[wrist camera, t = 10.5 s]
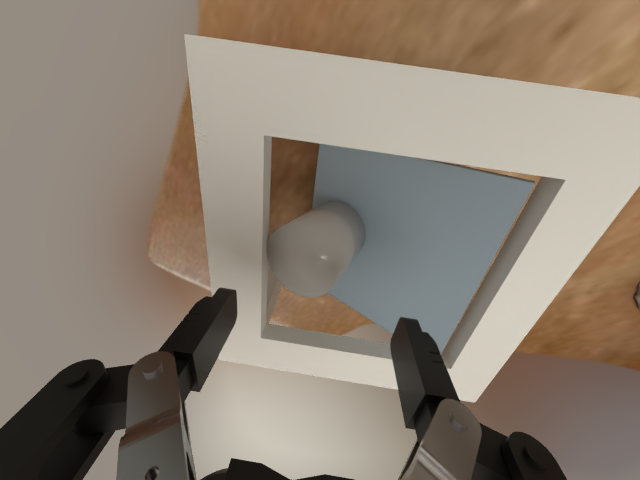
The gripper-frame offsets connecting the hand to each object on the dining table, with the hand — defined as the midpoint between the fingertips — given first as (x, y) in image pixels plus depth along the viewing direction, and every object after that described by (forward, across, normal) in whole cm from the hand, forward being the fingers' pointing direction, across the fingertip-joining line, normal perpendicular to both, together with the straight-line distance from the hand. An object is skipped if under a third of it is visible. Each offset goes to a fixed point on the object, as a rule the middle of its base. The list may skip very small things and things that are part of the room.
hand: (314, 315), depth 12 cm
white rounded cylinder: (+10, -1, 0) cm, 10 cm away
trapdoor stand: (+20, -4, 0) cm, 20 cm away
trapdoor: (+9, -5, 0) cm, 10 cm away
